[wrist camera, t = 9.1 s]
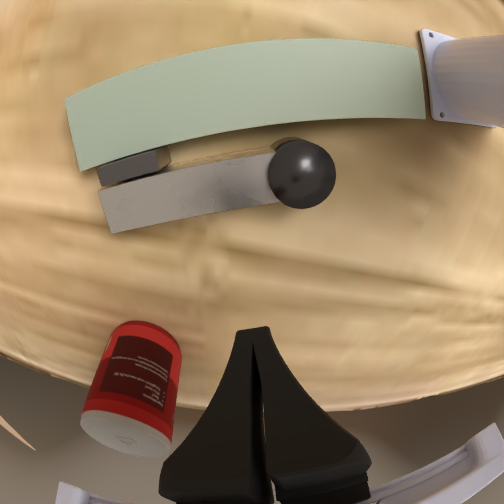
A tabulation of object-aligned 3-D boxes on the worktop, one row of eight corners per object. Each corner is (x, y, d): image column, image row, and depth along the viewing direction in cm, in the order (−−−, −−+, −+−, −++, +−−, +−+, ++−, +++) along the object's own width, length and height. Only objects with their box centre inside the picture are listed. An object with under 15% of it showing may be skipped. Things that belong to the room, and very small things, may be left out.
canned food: (133, 372, 28) (114, 454, 18) (98, 322, 24) (60, 412, 14) (194, 366, 28) (186, 459, 18) (164, 312, 24) (138, 420, 14)
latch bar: (317, 134, 17) (333, 139, 14) (322, 189, 19) (337, 204, 16) (112, 173, 17) (92, 185, 15) (127, 224, 19) (111, 243, 16)
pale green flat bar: (402, 51, 14) (417, 48, 12) (410, 117, 17) (425, 119, 15) (78, 98, 15) (64, 98, 13) (93, 165, 17) (80, 171, 15)
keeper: (167, 144, 17) (155, 150, 14) (171, 160, 18) (159, 170, 15) (115, 159, 17) (96, 168, 14) (119, 174, 18) (101, 186, 15)
